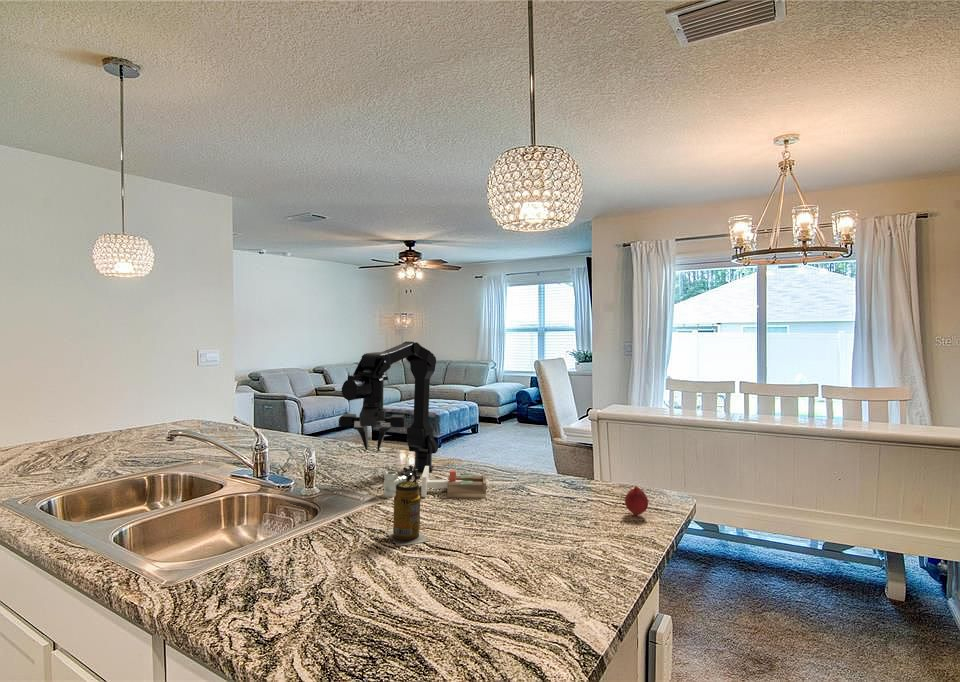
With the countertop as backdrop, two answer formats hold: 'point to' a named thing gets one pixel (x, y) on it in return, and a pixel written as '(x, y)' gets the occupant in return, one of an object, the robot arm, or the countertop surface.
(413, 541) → the condiment
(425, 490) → the white t-shaped slider
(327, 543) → the countertop surface
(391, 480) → the valve
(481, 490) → the gauge housing
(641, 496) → the onion
